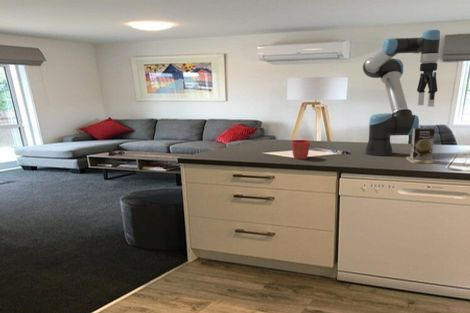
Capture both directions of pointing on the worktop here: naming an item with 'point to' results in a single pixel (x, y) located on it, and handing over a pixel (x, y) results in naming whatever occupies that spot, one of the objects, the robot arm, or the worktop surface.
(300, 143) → the flower pot
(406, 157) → the beige square napkin
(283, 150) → the worktop surface
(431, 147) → the coffee box
